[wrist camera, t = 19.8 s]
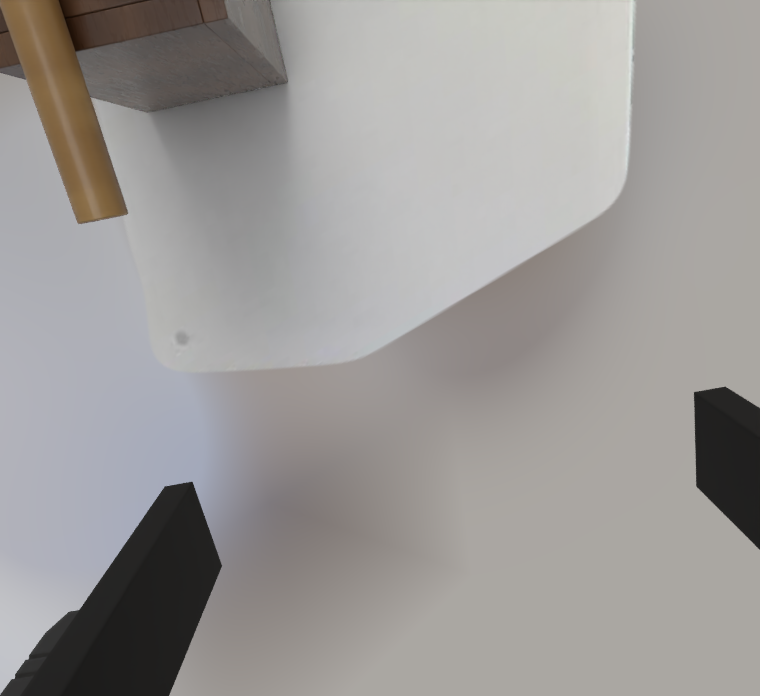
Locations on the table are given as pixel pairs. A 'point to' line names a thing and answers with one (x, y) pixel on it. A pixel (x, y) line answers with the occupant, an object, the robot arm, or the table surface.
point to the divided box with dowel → (129, 71)
